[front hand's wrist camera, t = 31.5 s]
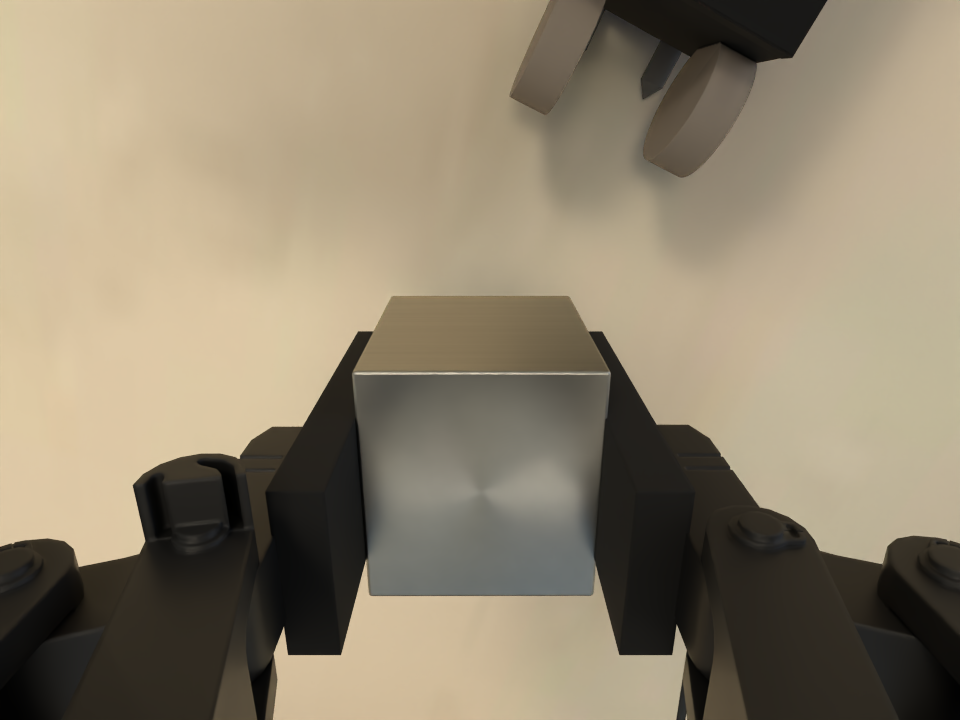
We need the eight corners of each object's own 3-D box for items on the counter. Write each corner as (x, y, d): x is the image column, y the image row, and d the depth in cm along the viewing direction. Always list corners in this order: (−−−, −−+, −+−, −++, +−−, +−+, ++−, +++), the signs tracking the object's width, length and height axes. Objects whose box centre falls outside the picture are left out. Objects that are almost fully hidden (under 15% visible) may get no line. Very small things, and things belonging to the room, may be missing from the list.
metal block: (399, 465, 15) (368, 597, 11) (390, 295, 14) (351, 371, 10) (561, 464, 15) (593, 596, 11) (569, 295, 14) (611, 371, 10)
